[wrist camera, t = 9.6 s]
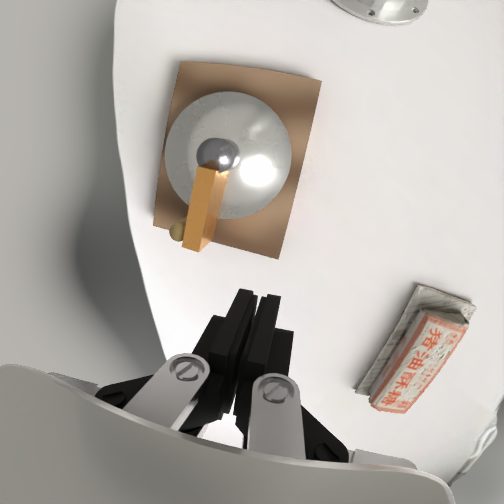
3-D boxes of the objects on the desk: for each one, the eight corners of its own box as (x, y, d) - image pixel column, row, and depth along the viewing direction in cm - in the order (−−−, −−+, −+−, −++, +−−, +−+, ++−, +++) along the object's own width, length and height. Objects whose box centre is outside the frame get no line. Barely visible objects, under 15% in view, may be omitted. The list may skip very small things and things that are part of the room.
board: (188, 65, 26) (158, 48, 19) (320, 85, 24) (324, 66, 18) (161, 221, 32) (128, 239, 26) (280, 252, 31) (272, 280, 24)
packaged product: (414, 419, 31) (356, 412, 32) (408, 397, 35) (354, 387, 36) (488, 319, 24) (429, 301, 25) (472, 300, 29) (416, 280, 29)
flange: (185, 85, 24) (160, 75, 20) (306, 110, 23) (306, 100, 19) (158, 216, 30) (131, 230, 25) (266, 250, 29) (257, 271, 24)
